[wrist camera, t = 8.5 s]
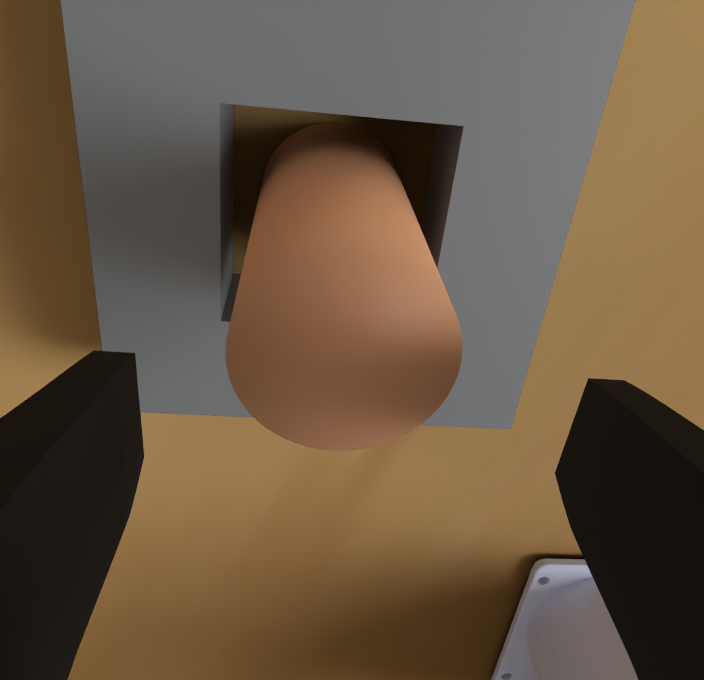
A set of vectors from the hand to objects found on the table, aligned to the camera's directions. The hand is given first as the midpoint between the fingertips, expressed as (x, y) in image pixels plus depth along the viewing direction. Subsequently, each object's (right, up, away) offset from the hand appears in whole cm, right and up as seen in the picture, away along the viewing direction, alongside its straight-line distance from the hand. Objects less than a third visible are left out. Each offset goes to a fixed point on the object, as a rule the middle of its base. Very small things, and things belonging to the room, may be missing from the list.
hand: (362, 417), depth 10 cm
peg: (-1, +5, +8) cm, 10 cm away
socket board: (-1, +5, +8) cm, 10 cm away
